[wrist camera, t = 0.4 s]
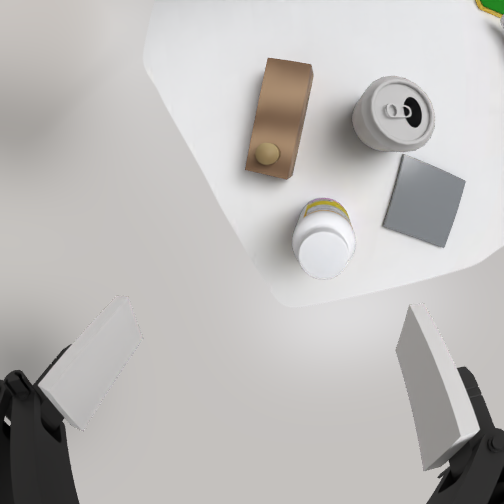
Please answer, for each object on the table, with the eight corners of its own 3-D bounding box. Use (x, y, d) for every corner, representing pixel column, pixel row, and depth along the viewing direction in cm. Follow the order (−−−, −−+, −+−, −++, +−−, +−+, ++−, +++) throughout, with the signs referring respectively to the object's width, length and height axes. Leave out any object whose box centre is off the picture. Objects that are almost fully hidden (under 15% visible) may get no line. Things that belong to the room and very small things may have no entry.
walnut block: (275, 68, 30) (263, 52, 24) (313, 75, 29) (310, 59, 23) (255, 167, 35) (239, 171, 29) (292, 175, 35) (284, 181, 28)
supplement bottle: (327, 254, 37) (325, 302, 26) (290, 224, 37) (272, 260, 26) (359, 218, 34) (374, 253, 23) (320, 186, 34) (318, 205, 23)
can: (408, 151, 29) (445, 154, 18) (354, 151, 31) (368, 151, 21) (402, 96, 27) (434, 75, 16) (347, 95, 29) (357, 69, 18)
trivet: (403, 154, 30) (404, 154, 29) (463, 180, 28) (465, 181, 27) (382, 225, 34) (384, 226, 33) (442, 246, 32) (443, 247, 31)
